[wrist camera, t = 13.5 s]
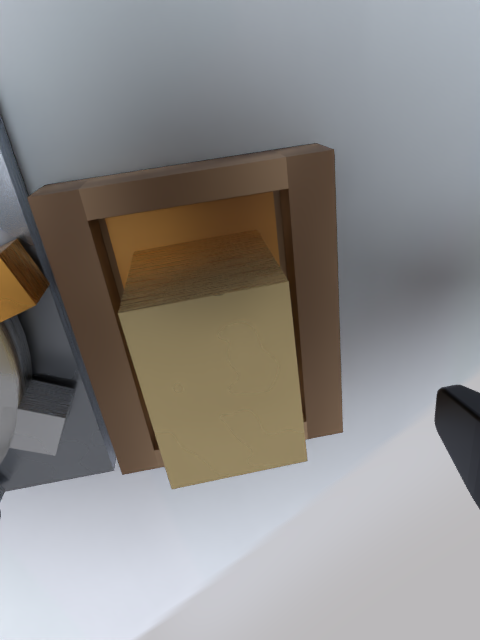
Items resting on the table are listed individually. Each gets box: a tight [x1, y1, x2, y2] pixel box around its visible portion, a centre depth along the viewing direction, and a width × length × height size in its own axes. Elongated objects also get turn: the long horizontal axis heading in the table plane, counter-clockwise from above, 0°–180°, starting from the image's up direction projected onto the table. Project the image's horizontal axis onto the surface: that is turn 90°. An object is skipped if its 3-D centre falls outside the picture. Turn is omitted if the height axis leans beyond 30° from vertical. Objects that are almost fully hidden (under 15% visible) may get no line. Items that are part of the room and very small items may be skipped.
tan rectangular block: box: [118, 229, 307, 489], centre depth 12 cm, size 4×5×4 cm
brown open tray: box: [27, 143, 343, 475], centre depth 14 cm, size 7×9×2 cm
